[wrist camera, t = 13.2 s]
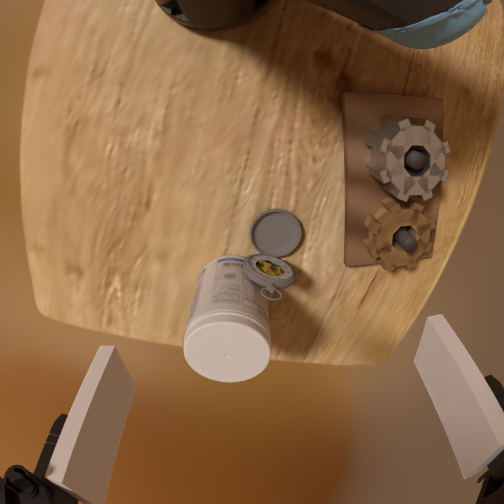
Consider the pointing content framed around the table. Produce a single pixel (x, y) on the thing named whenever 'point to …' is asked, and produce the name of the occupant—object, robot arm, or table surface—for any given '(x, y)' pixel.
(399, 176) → the steel gear
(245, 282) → the supplement tub
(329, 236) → the table surface
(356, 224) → the gear board
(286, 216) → the pocket watch
